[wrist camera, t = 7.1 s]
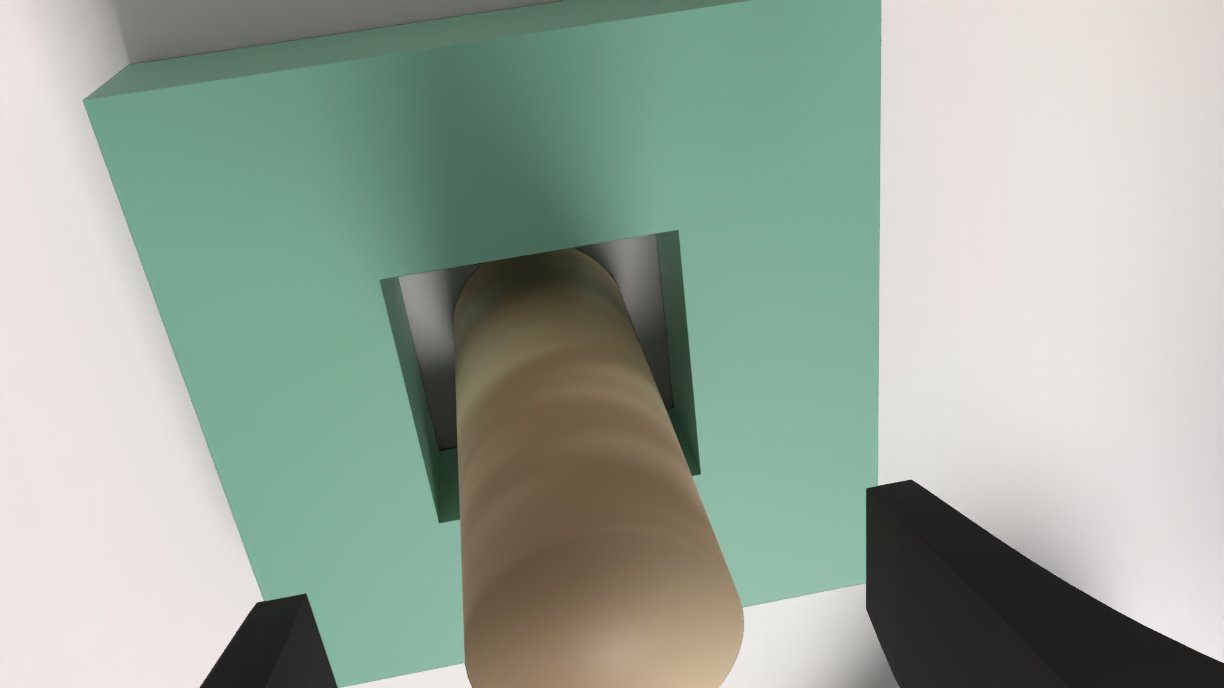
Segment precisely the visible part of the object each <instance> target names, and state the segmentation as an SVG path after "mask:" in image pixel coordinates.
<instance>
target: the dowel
mask: <svg viewBox="0 0 1224 688" xmlns="http://www.w3.org/2000/svg"><path fill="white" fill-rule="evenodd" d="M453 322H454V353H455V383H456V413H457V443H458V473H459V503H460V533H461V563H462V593H463V624H464V653H465V666H466V671H467V675H468V679H469V681H470V684H471V686H472V688H719V686H720V685H721V684H722V683H723V681H724V680H725V679H726V677H727V675H728V674H729V672H730V671H731V669H732V667H733V665H734V663H735V661H736V658H737V656H738V654H739V650H740V647H741V643H742V639H743V631H744V616H743V609H742V605H741V600H740V597H739V595H738V592H737V590H736V587H735V584H734V582H733V579H732V577H731V574H730V572H729V569H728V567H727V564H726V562H725V559H724V556H723V554H722V551H721V549H720V546H719V544H718V541H717V539H716V536H715V533H714V531H713V528H712V526H711V523H710V521H709V518H708V516H707V513H706V510H705V508H704V505H703V503H702V500H701V498H700V495H699V493H698V490H697V488H696V485H695V482H694V480H693V477H692V475H691V472H690V470H689V467H688V465H687V462H686V459H685V457H684V454H683V452H682V449H681V447H680V444H679V442H678V439H677V437H676V434H675V431H674V429H673V426H672V424H671V421H670V419H669V416H668V414H667V411H666V408H665V406H664V403H663V401H662V398H661V396H660V393H659V391H658V388H657V385H656V383H655V380H654V378H653V375H652V373H651V370H650V368H649V365H648V363H647V360H646V357H645V355H644V352H643V350H642V347H641V345H640V342H639V340H638V337H637V334H636V332H635V329H634V327H633V324H632V322H631V319H630V317H629V314H628V312H627V309H626V306H625V304H624V301H623V299H622V296H621V294H620V291H619V289H618V286H617V285H616V283H615V281H614V280H613V278H612V276H611V275H610V274H609V273H608V272H607V270H606V269H605V268H604V267H603V266H602V265H601V264H600V263H599V262H597V261H596V260H594V259H593V258H592V257H590V256H589V255H587V254H585V253H583V252H581V251H579V250H577V249H574V248H567V249H561V250H555V251H549V252H543V253H537V254H531V255H525V256H519V257H513V258H507V259H501V260H495V261H489V262H485V263H484V264H482V265H481V266H480V267H479V268H478V269H477V270H476V271H475V272H474V273H473V274H472V275H471V277H470V278H469V279H468V281H467V282H466V284H465V285H464V287H463V289H462V290H461V293H460V295H459V297H458V300H457V303H456V307H455V311H454V321H453Z"/></svg>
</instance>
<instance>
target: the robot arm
mask: <svg viewBox="0 0 1224 688" xmlns="http://www.w3.org/2000/svg"><path fill="white" fill-rule="evenodd" d="M866 610H867V612H868V615H869V617H870V620H871V622H872V625H873V627H874V629H875V632H876V634H877V637H878V639H879V642H880V644H881V647H882V649H883V651H884V654H885V656H886V658H887V661H888V663H889V665H890V668H891V670H892V672H893V675H894V677H895V679H896V681H897V683H898V684H899V686H900V688H1224V663H1222V662H1220V661H1218V660H1215V659H1213V658H1211V657H1208V656H1206V655H1204V654H1202V653H1200V652H1198V651H1195V650H1193V649H1191V648H1189V647H1187V646H1185V645H1183V644H1181V643H1179V642H1177V641H1175V640H1173V639H1171V638H1169V637H1167V636H1165V635H1162V634H1160V633H1158V632H1156V631H1154V630H1152V629H1150V628H1148V627H1146V626H1144V625H1142V624H1140V623H1138V622H1136V621H1135V620H1133V619H1131V618H1129V617H1127V616H1125V615H1123V614H1121V613H1119V612H1118V611H1116V610H1114V609H1112V608H1111V607H1109V606H1107V605H1105V604H1104V603H1102V602H1100V601H1098V600H1097V599H1095V598H1093V597H1091V596H1090V595H1088V594H1086V593H1084V592H1083V591H1081V590H1079V589H1077V588H1075V587H1074V586H1072V585H1070V584H1069V583H1067V582H1065V581H1064V580H1062V579H1060V578H1059V577H1057V576H1056V575H1054V574H1052V573H1051V572H1049V571H1047V570H1046V569H1044V568H1043V567H1041V566H1039V565H1038V564H1036V563H1035V562H1033V561H1031V560H1030V559H1028V558H1027V557H1025V556H1024V555H1022V554H1021V553H1019V552H1018V551H1016V550H1014V549H1013V548H1011V547H1010V546H1008V545H1007V544H1005V543H1004V542H1002V541H1001V540H999V539H998V538H996V537H995V536H993V535H992V534H990V533H989V532H987V531H986V530H984V529H983V528H982V527H980V526H979V525H977V524H976V523H974V522H973V521H971V520H970V519H968V518H967V517H965V516H964V515H963V514H961V513H960V512H958V511H957V510H955V509H954V508H952V507H951V506H950V505H948V504H947V503H945V502H944V501H942V500H941V499H939V498H938V497H937V496H935V495H934V494H932V493H931V492H929V491H928V490H926V489H925V488H923V487H922V486H920V485H919V484H917V483H916V482H914V481H913V480H907V481H901V482H896V483H891V484H886V485H880V486H875V487H870V488H866ZM200 688H338V687H337V684H336V681H335V678H334V675H333V672H332V669H331V666H330V663H329V660H328V657H327V654H326V651H325V648H324V645H323V642H322V639H321V636H320V633H319V630H318V627H317V624H316V621H315V618H314V615H313V612H312V609H311V606H310V603H309V600H308V597H307V594H306V593H305V594H300V595H295V596H290V597H284V598H279V599H274V600H268V601H263V602H258V603H256V605H255V606H254V607H253V609H252V610H251V611H250V613H249V614H248V616H247V617H246V619H245V620H244V622H243V623H242V625H241V626H240V628H239V629H238V631H237V632H236V634H235V635H234V637H233V638H232V640H231V641H230V643H229V644H228V646H227V647H226V649H225V650H224V652H223V653H222V655H221V656H220V658H219V659H218V661H217V662H216V664H215V665H214V667H213V668H212V670H211V671H210V673H209V674H208V676H207V677H206V679H205V680H204V682H203V683H202V685H201V686H200Z"/></svg>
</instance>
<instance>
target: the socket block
mask: <svg viewBox="0 0 1224 688" xmlns="http://www.w3.org/2000/svg"><path fill="white" fill-rule="evenodd" d="M83 102H84V105H85V108H86V111H87V113H88V116H89V119H90V122H91V125H92V127H93V130H94V133H95V136H96V138H97V141H98V144H99V147H100V149H101V152H102V155H103V158H104V160H105V163H106V166H107V169H108V172H109V174H110V177H111V180H112V183H113V185H114V188H115V191H116V194H117V196H118V199H119V202H120V205H121V207H122V210H123V213H124V216H125V218H126V221H127V224H128V227H129V230H130V232H131V235H132V238H133V241H134V243H135V246H136V249H137V252H138V254H139V257H140V260H141V263H142V265H143V268H144V271H145V274H146V276H147V279H148V282H149V285H150V288H151V290H152V293H153V296H154V299H155V301H156V304H157V307H158V310H159V312H160V315H161V318H162V321H163V323H164V326H165V329H166V332H167V335H168V337H169V340H170V343H171V346H172V348H173V351H174V354H175V357H176V359H177V362H178V365H179V368H180V370H181V373H182V376H183V379H184V381H185V384H186V387H187V390H188V393H189V395H190V398H191V401H192V404H193V406H194V409H195V412H196V415H197V417H198V420H199V423H200V426H201V428H202V431H203V434H204V437H205V439H206V442H207V445H208V448H209V451H210V453H211V456H212V459H213V462H214V464H215V467H216V470H217V473H218V475H219V478H220V481H221V484H222V486H223V489H224V492H225V495H226V498H227V500H228V503H229V506H230V509H231V511H232V514H233V517H234V520H235V522H236V525H237V528H238V531H239V533H240V536H241V539H242V542H243V544H244V547H245V550H246V553H247V556H248V558H249V561H250V564H251V567H252V569H253V572H254V575H255V578H256V580H257V583H258V586H259V589H260V591H261V594H262V597H263V600H264V601H268V600H274V599H279V598H284V597H290V596H295V595H300V594H305V593H306V594H307V597H308V600H309V603H310V606H311V609H312V612H313V615H314V618H315V621H316V624H317V627H318V630H319V633H320V636H321V639H322V642H323V645H324V648H325V651H326V654H327V657H328V660H329V663H330V666H331V669H332V672H333V675H334V678H335V681H336V684H337V687H338V688H341V687H346V686H351V685H356V684H361V683H366V682H371V681H376V680H381V679H386V678H391V677H396V676H401V675H406V674H411V673H416V672H421V671H426V670H431V669H437V668H442V667H447V666H452V665H457V664H462V663H465V653H464V624H463V593H462V563H461V533H460V503H459V473H458V447H457V448H452V449H446V450H441V451H439V449H438V445H437V441H436V437H435V432H434V428H433V424H432V420H431V415H430V411H429V407H428V403H427V398H426V394H425V390H424V386H423V381H422V377H421V373H420V369H419V364H418V360H417V356H416V352H415V347H414V343H413V339H412V335H411V330H410V326H409V322H408V318H407V313H406V309H405V305H404V301H403V296H402V292H401V288H400V284H399V279H398V277H399V276H405V275H411V274H417V273H423V272H429V271H435V270H441V269H447V268H453V267H459V266H465V265H471V264H477V263H483V262H489V261H495V260H501V259H507V258H513V257H519V256H525V255H531V254H537V253H543V252H549V251H555V250H561V249H567V248H573V247H579V246H584V245H590V244H596V243H602V242H608V241H614V240H620V239H626V238H632V237H638V236H644V235H650V234H656V237H657V247H658V257H659V267H660V276H661V286H662V296H663V305H664V315H665V325H666V335H667V344H668V354H669V364H670V374H671V383H672V393H673V403H674V408H672V409H667V410H666V411H667V414H668V416H669V419H670V421H671V424H672V426H673V429H674V431H675V434H676V437H677V439H678V442H679V444H680V447H681V449H682V452H683V454H684V457H685V459H686V462H687V465H688V467H689V470H690V472H691V475H692V477H693V480H694V482H695V485H696V488H697V490H698V493H699V495H700V498H701V500H702V503H703V505H704V508H705V510H706V513H707V516H708V518H709V521H710V523H711V526H712V528H713V531H714V533H715V536H716V539H717V541H718V544H719V546H720V549H721V551H722V554H723V556H724V559H725V562H726V564H727V567H728V569H729V572H730V574H731V577H732V579H733V582H734V584H735V587H736V590H737V592H738V595H739V597H740V600H741V605H742V608H743V607H748V606H753V605H758V604H763V603H768V602H773V601H778V600H783V599H788V598H794V597H799V596H804V595H809V594H814V593H819V592H824V591H829V590H834V589H839V588H844V587H849V586H854V585H859V584H864V583H866V488H870V487H875V486H878V377H879V241H880V104H881V0H565V1H559V2H552V3H545V4H538V5H531V6H525V7H518V8H511V9H504V10H497V11H491V12H484V13H477V14H470V15H463V16H457V17H450V18H443V19H436V20H429V21H423V22H416V23H409V24H402V25H396V26H389V27H382V28H375V29H368V30H362V31H355V32H348V33H341V34H334V35H328V36H321V37H314V38H307V39H300V40H294V41H287V42H280V43H273V44H266V45H260V46H253V47H246V48H239V49H232V50H226V51H219V52H212V53H205V54H198V55H192V56H185V57H178V58H171V59H165V60H158V61H151V62H144V63H137V64H131V65H128V66H127V67H125V68H124V69H123V70H122V71H120V72H119V73H118V74H116V75H115V76H114V77H113V78H111V79H110V80H109V81H107V82H106V83H105V84H103V85H102V86H101V87H100V88H98V89H97V90H96V91H94V92H93V93H92V94H91V95H89V96H88V97H87V98H85V99H84V100H83Z"/></svg>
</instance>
